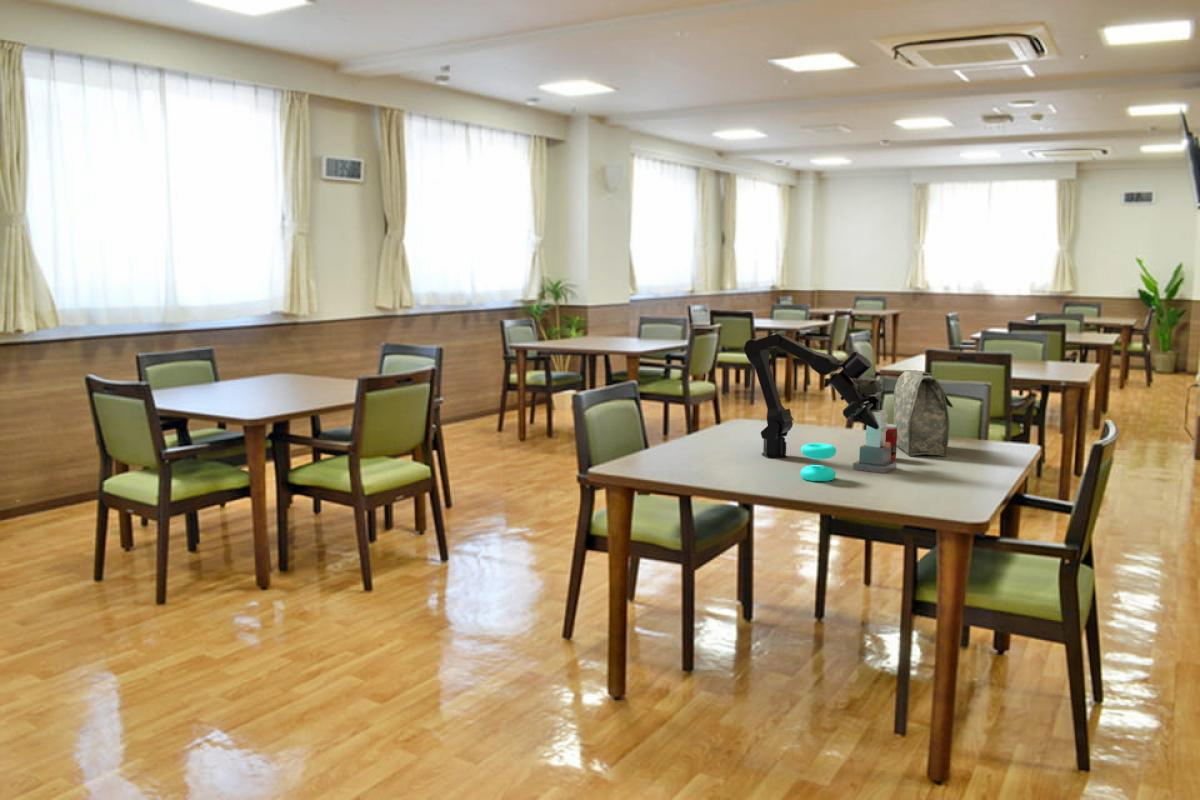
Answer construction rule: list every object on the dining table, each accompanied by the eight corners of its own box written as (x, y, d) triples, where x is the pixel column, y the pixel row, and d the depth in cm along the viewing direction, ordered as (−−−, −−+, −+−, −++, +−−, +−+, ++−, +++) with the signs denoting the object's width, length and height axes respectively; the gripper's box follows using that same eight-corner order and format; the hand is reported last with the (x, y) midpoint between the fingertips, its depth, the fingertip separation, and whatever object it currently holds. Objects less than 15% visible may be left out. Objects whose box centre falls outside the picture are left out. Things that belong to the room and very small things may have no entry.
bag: (954, 457, 316) (958, 373, 313) (904, 456, 317) (908, 373, 313) (933, 444, 339) (937, 366, 335) (887, 444, 339) (890, 366, 335)
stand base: (852, 469, 297) (853, 442, 296) (864, 464, 305) (865, 437, 304) (884, 473, 291) (886, 445, 290) (896, 467, 299) (897, 440, 298)
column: (865, 449, 297) (867, 411, 295) (870, 447, 300) (872, 409, 299) (881, 451, 294) (883, 412, 292) (887, 449, 297) (888, 410, 296)
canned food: (897, 461, 309) (898, 427, 307) (871, 460, 311) (872, 426, 309) (894, 457, 316) (896, 423, 315) (869, 456, 318) (870, 422, 317)
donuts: (808, 441, 289) (841, 444, 284) (807, 474, 291) (839, 477, 285) (796, 446, 281) (829, 449, 276) (795, 480, 282) (828, 484, 277)
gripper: (854, 374, 289) (889, 414, 284) (876, 369, 304) (910, 407, 299) (828, 398, 294) (862, 438, 289) (851, 392, 309) (884, 429, 304)
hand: (880, 427), depth 295 cm, fingers closed on column, 4 cm apart
